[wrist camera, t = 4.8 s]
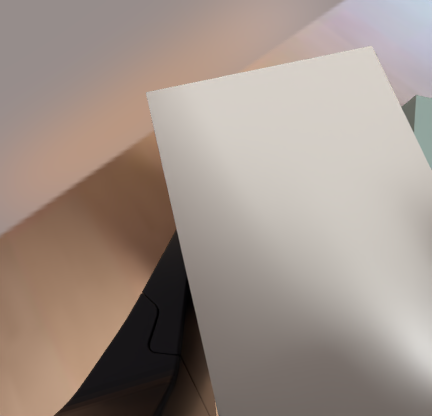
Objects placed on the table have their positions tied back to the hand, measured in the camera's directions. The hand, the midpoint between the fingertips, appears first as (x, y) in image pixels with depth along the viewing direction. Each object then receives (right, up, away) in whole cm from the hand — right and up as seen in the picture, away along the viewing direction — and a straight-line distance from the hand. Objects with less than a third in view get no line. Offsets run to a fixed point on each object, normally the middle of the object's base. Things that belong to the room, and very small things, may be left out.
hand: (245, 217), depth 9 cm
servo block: (0, -3, +6) cm, 7 cm away
